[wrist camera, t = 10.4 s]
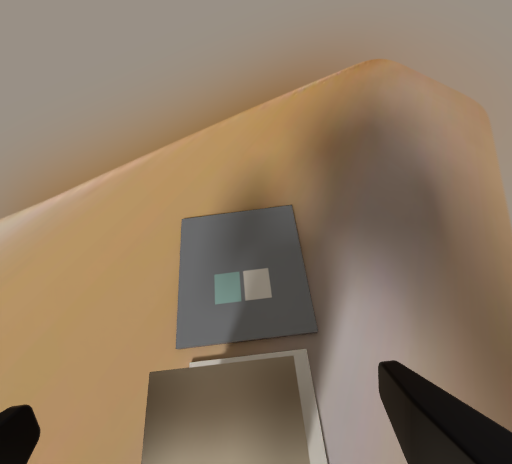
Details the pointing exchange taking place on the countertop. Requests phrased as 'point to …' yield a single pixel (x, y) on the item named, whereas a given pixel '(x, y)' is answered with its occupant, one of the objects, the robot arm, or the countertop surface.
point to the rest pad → (306, 396)
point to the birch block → (226, 415)
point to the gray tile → (242, 279)
